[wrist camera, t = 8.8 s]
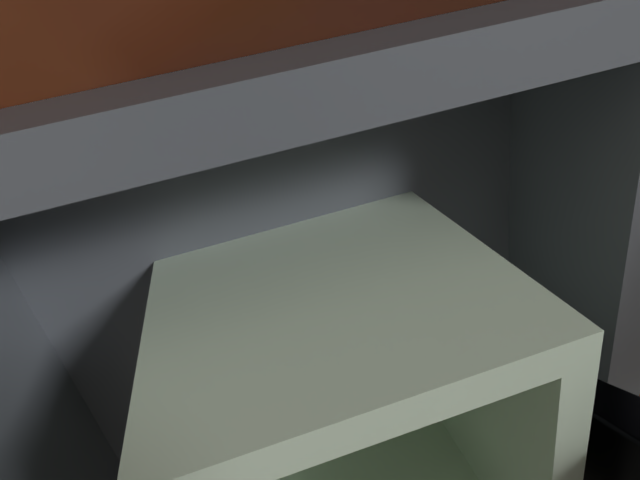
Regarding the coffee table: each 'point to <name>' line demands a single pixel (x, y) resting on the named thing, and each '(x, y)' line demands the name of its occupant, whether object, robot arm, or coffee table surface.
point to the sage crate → (359, 358)
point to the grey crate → (310, 189)
